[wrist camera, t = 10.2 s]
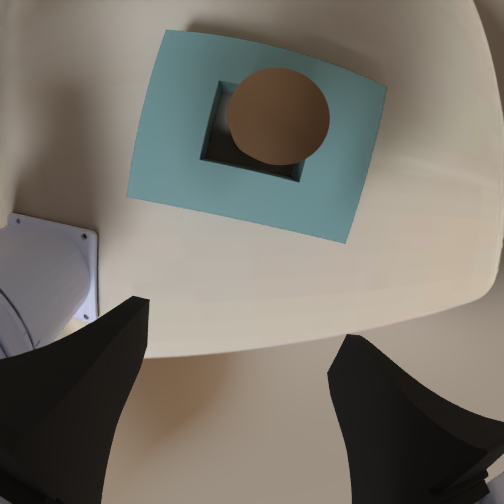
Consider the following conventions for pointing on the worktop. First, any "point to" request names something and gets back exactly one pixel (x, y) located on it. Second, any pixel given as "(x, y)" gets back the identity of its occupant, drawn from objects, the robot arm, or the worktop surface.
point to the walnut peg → (278, 116)
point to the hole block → (241, 177)
